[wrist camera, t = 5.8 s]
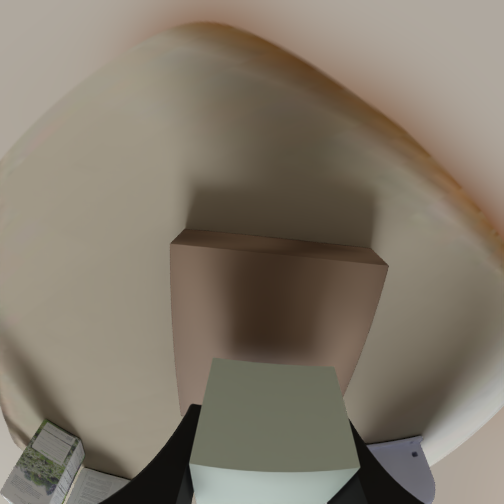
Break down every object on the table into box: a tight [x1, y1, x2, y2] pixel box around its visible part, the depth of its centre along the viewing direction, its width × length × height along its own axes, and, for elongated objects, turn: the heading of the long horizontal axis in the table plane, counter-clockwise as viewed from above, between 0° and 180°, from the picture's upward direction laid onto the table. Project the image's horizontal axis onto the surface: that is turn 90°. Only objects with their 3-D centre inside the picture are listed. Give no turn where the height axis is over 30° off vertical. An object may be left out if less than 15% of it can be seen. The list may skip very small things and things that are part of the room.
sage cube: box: [189, 358, 360, 504], centre depth 9 cm, size 5×5×5 cm
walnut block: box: [170, 229, 389, 416], centre depth 16 cm, size 10×12×3 cm
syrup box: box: [0, 419, 85, 504], centre depth 17 cm, size 6×6×14 cm
